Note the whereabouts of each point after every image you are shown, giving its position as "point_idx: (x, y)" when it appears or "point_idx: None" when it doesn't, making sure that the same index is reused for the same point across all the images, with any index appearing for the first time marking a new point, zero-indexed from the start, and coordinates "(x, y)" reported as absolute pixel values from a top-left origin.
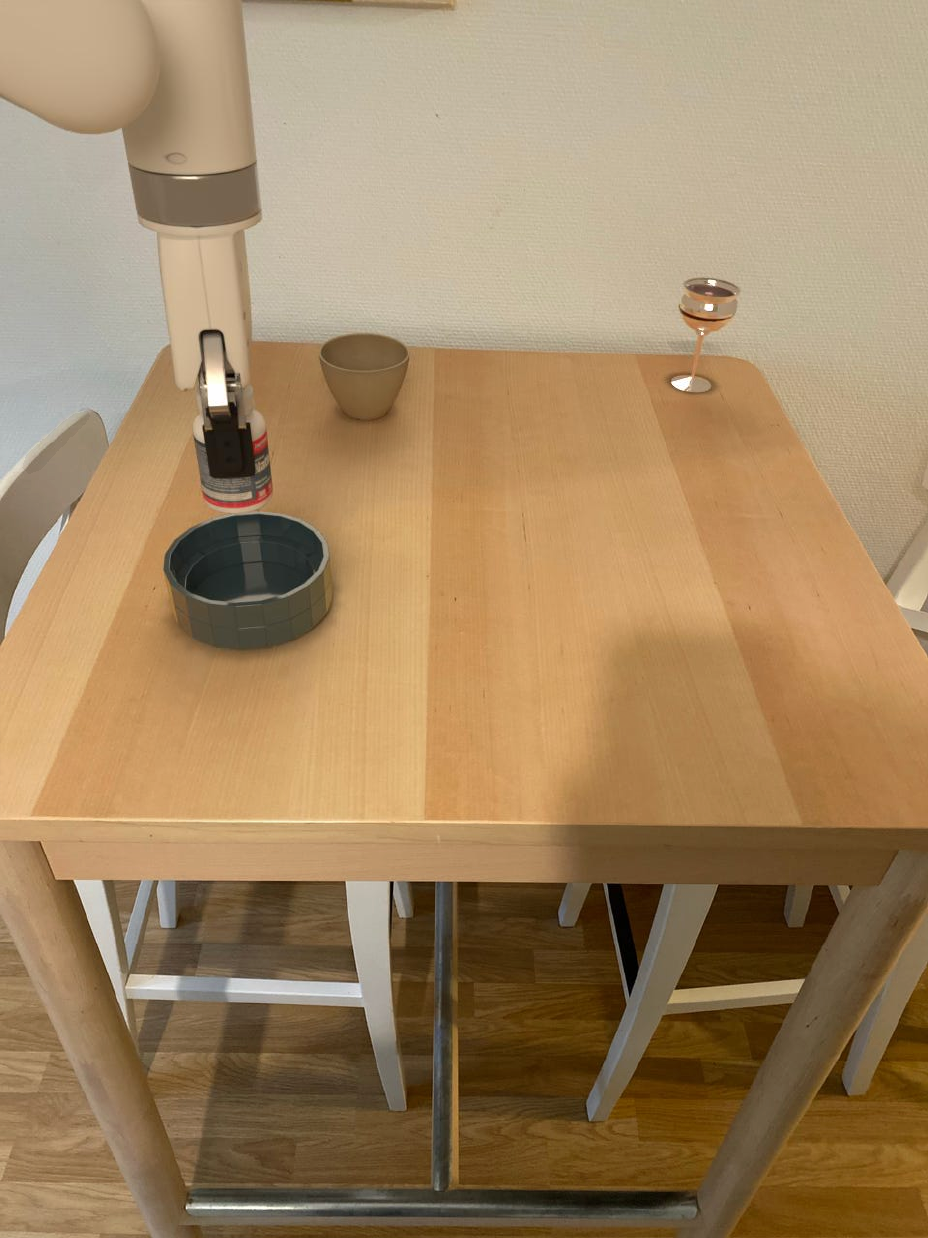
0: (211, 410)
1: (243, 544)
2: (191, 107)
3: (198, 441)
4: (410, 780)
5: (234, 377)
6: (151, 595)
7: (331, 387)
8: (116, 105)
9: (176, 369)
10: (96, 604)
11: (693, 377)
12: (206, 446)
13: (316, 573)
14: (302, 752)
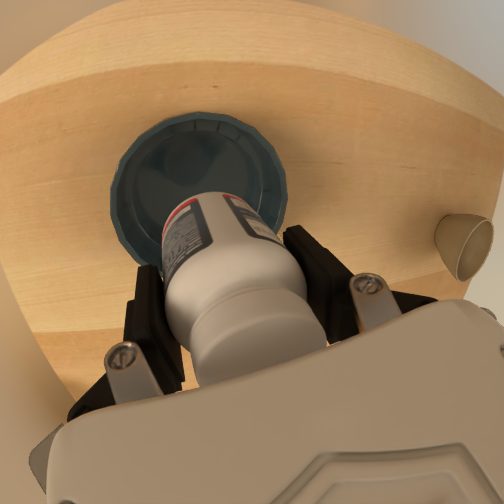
0: (33, 456)
1: (258, 174)
2: None
3: (181, 264)
4: (48, 325)
5: (344, 338)
6: (203, 86)
7: (459, 220)
8: None
9: (46, 492)
10: (188, 41)
11: None
12: (135, 304)
13: None
14: (42, 266)
